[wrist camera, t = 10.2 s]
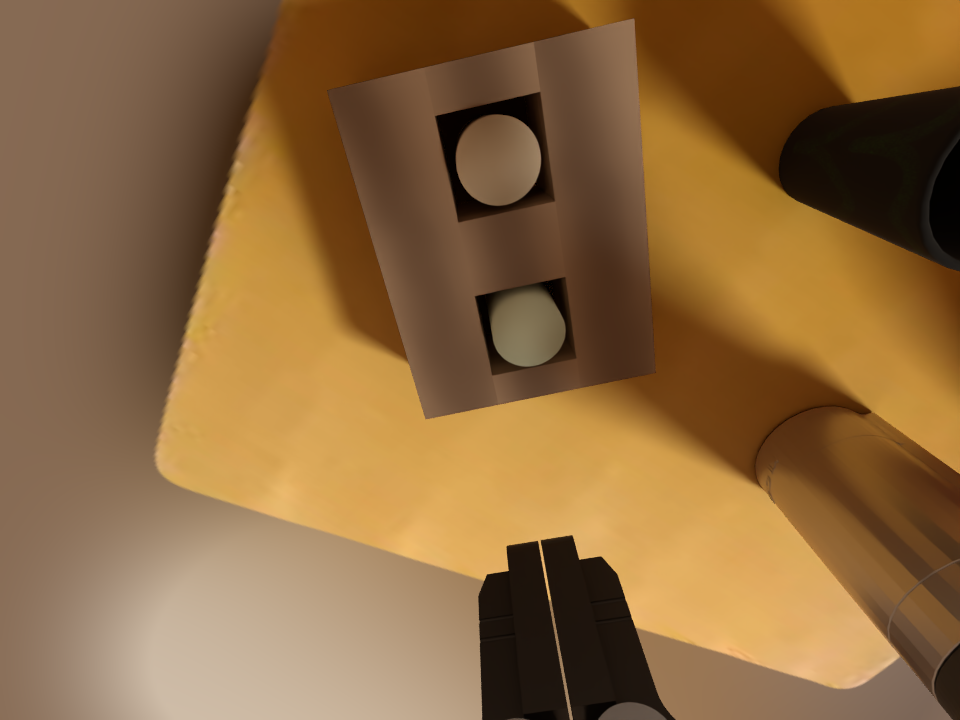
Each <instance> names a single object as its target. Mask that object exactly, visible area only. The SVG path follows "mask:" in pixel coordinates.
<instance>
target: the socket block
mask: <svg viewBox="0 0 960 720" xmlns="http://www.w3.org/2000/svg"><path fill="white" fill-rule="evenodd" d="M327 92H328V95H329V99H330V102H331V105H332V109H333V112H334V115H335V119H336V122H337V125H338V129H339V132H340V135H341V139H342V142H343V145H344V149H345V152H346V155H347V159H348V162H349V165H350V169H351V172H352V175H353V179H354V182H355V185H356V189H357V192H358V195H359V199H360V202H361V205H362V209H363V212H364V215H365V219H366V222H367V225H368V229H369V232H370V235H371V239H372V242H373V245H374V249H375V252H376V255H377V259H378V262H379V265H380V269H381V272H382V275H383V279H384V282H385V285H386V289H387V292H388V295H389V299H390V302H391V305H392V309H393V312H394V315H395V319H396V322H397V325H398V329H399V332H400V335H401V339H402V342H403V345H404V349H405V352H406V355H407V359H408V362H409V365H410V369H411V372H412V376H413V379H414V382H415V386H416V389H417V392H418V396H419V399H420V402H421V406H422V409H423V412H424V416H425V419H430V418H435V417H440V416H445V415H450V414H455V413H460V412H465V411H470V410H474V409H479V408H484V407H489V406H494V405H499V404H504V403H509V402H514V401H519V400H524V399H529V398H534V397H539V396H544V395H548V394H553V393H558V392H563V391H568V390H573V389H578V388H583V387H588V386H593V385H598V384H603V383H608V382H613V381H618V380H622V379H627V378H632V377H637V376H642V375H647V374H652V373H656V370H655V354H654V337H653V321H652V304H651V288H650V271H649V254H648V238H647V221H646V205H645V188H644V172H643V155H642V139H641V122H640V106H639V89H638V73H637V56H636V39H635V23H634V18H633V19H629V20H625V21H621V22H616V23H612V24H608V25H604V26H599V27H595V28H591V29H586V30H582V31H578V32H574V33H569V34H565V35H561V36H557V37H552V38H548V39H544V40H540V41H535V42H531V43H527V44H522V45H518V46H514V47H510V48H505V49H501V50H497V51H493V52H488V53H484V54H480V55H475V56H471V57H467V58H463V59H458V60H454V61H450V62H446V63H441V64H437V65H433V66H429V67H424V68H420V69H416V70H411V71H407V72H403V73H399V74H394V75H390V76H386V77H382V78H377V79H373V80H369V81H365V82H360V83H356V84H352V85H347V86H343V87H339V88H335V89H330V90H327ZM519 96H524V99H525V105H526V112H527V119H528V125H529V129H530V130H531V131H532V132H533V134H534V135H535V137H536V139H537V141H538V144H539V148H540V153H541V166H540V171H539V174H538V177H537V186H534V187H532V188H531V189H530V191H529V192H528V193H527V194H526V195H525V196H523V197H522V198H521V199H519V200H517V201H515V202H513V203H511V204H507V205H501V206H495V205H488V204H485V203H482V202H480V201H478V200H477V199H475V200H471V201H466V202H462V203H457V200H456V196H455V191H454V187H453V182H452V177H451V173H450V168H449V164H448V159H447V155H446V150H445V146H444V141H443V136H442V132H441V127H440V123H439V118H438V115H441V114H445V113H450V112H454V111H458V110H463V109H467V108H472V107H476V106H480V105H485V104H489V103H493V102H498V101H502V100H506V99H511V98H515V97H519ZM548 280H552V286H553V293H554V300H555V304H556V306H557V308H558V310H559V312H560V314H561V315H562V317H563V320H564V323H565V330H566V332H565V339H564V342H563V344H562V346H561V348H560V349H559V351H558V352H557V353H556V354H555V355H554V356H553V357H552V358H551V359H549V360H548V361H546V362H544V363H542V364H539V365H536V366H518V365H515V364H512V363H510V362H508V361H507V360H505V359H504V358H503V357H502V356H501V355H500V354H499V353H498V351H497V350H496V347H495V345H494V342H493V336H492V334H491V335H486V333H485V328H484V324H483V319H482V315H481V310H480V305H479V301H478V295H482V294H487V293H492V292H496V291H501V290H506V289H511V288H515V287H520V286H525V285H529V284H534V283H539V282H543V281H548Z"/></svg>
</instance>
